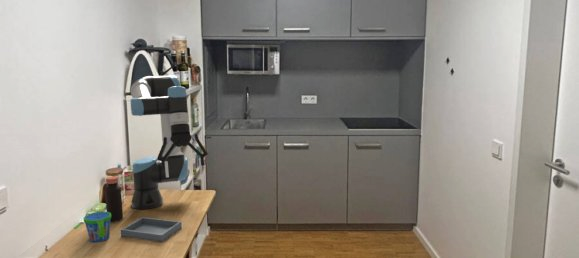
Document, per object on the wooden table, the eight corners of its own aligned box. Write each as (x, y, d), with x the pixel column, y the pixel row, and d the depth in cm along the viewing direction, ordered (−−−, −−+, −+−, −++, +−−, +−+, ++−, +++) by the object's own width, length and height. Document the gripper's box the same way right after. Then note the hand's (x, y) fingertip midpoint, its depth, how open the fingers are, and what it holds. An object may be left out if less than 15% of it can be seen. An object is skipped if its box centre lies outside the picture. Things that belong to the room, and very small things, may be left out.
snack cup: (85, 234, 192) (82, 211, 190) (111, 230, 197) (109, 207, 195) (86, 248, 178) (84, 224, 176) (115, 243, 183) (112, 219, 181)
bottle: (113, 216, 212) (109, 175, 209) (126, 217, 211) (122, 176, 208) (104, 221, 206) (100, 179, 202) (117, 222, 205) (114, 180, 201)
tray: (142, 223, 204) (142, 217, 203) (181, 228, 198) (181, 221, 197) (121, 236, 189) (120, 229, 189) (162, 242, 184) (162, 235, 183)
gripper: (146, 126, 181) (151, 179, 179) (209, 120, 184) (214, 172, 182) (150, 127, 189) (154, 178, 187) (210, 122, 191) (215, 172, 190)
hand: (184, 175), depth 185 cm, fingers open, 13 cm apart
